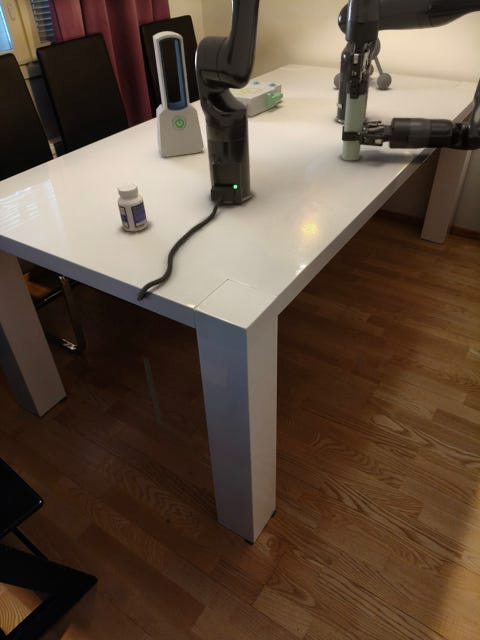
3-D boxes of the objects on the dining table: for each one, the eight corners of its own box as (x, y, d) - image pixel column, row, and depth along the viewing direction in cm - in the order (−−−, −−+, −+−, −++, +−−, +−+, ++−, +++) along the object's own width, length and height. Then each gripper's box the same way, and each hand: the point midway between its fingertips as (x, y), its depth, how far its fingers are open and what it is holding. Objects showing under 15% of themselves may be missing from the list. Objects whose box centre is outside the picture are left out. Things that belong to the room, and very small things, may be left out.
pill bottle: (149, 220, 107) (142, 181, 102) (146, 231, 103) (138, 191, 98) (125, 221, 107) (116, 182, 102) (121, 232, 103) (112, 193, 98)
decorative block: (245, 78, 184) (291, 83, 175) (246, 96, 188) (291, 102, 178) (203, 94, 168) (250, 100, 159) (204, 113, 172) (251, 121, 162)
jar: (353, 161, 129) (360, 87, 118) (338, 158, 132) (344, 84, 121) (362, 156, 132) (370, 83, 121) (348, 153, 135) (354, 81, 123)
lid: (359, 95, 119) (360, 85, 118) (342, 93, 122) (342, 82, 120) (371, 91, 122) (372, 81, 120) (353, 88, 125) (354, 78, 123)
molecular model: (320, 82, 200) (324, -5, 182) (368, 76, 205) (377, -10, 186) (347, 95, 182) (354, 0, 164) (399, 88, 187) (412, -5, 168)
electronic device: (161, 157, 138) (144, 37, 120) (158, 149, 144) (140, 33, 126) (204, 151, 141) (193, 32, 122) (199, 144, 146) (188, 28, 128)
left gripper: (351, 13, 118) (345, 87, 129) (341, 22, 108) (336, 102, 118) (383, 13, 116) (374, 88, 127) (376, 21, 106) (367, 103, 116)
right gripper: (409, 110, 129) (343, 110, 132) (414, 126, 118) (342, 126, 121) (404, 139, 133) (341, 138, 136) (409, 157, 122) (340, 156, 125)
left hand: (356, 94), depth 122 cm, fingers open, 6 cm apart
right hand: (342, 133), depth 128 cm, fingers closed on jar, 4 cm apart
